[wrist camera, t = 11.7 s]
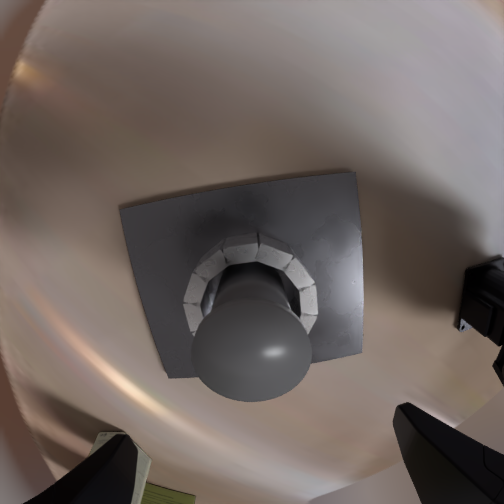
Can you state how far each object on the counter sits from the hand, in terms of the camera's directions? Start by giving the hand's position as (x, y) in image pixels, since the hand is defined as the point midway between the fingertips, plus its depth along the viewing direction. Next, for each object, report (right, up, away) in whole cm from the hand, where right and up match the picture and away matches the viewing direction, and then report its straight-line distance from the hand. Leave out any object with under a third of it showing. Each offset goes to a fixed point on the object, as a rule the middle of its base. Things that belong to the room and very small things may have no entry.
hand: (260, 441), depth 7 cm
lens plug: (0, +3, +12) cm, 12 cm away
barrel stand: (0, +3, +12) cm, 13 cm away
